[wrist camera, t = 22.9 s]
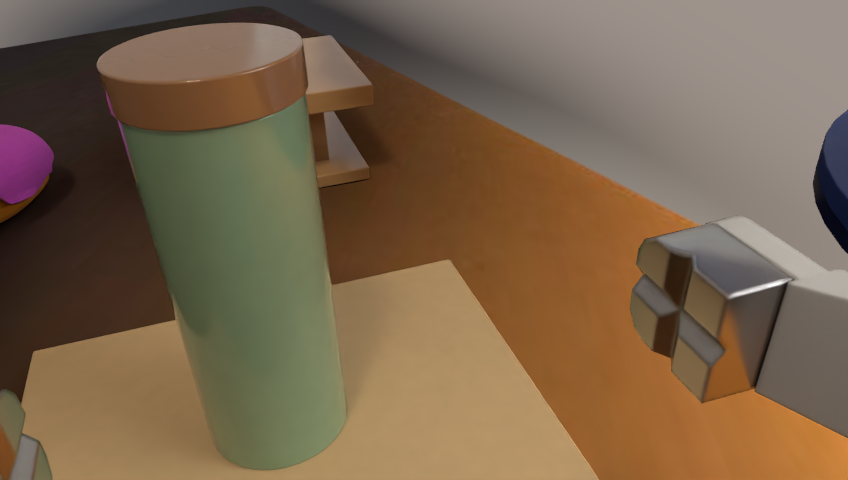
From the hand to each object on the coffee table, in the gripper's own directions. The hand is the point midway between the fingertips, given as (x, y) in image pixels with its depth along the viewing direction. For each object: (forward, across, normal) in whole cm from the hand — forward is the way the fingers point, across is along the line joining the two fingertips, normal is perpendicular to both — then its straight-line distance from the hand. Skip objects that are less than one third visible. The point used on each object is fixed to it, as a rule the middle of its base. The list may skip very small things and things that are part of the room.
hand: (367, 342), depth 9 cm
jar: (+11, +1, +12) cm, 16 cm away
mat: (+11, +1, +13) cm, 17 cm away
